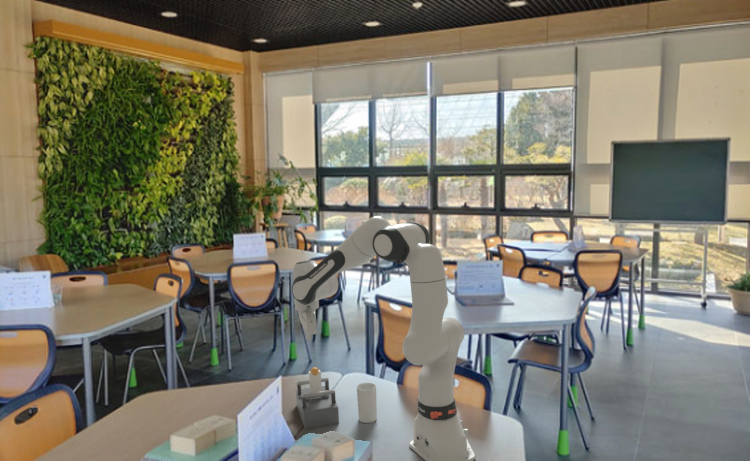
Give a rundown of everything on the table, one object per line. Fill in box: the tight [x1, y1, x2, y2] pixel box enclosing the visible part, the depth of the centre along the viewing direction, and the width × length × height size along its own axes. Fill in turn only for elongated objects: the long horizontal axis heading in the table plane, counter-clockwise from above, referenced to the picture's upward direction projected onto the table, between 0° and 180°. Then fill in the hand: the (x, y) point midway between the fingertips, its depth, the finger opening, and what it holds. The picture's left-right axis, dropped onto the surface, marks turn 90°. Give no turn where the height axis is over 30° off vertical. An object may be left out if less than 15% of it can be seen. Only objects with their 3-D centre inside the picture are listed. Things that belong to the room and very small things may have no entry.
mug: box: [356, 382, 378, 424], centre depth 199 cm, size 10×7×12 cm, turn 169°
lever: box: [308, 366, 322, 398], centre depth 203 cm, size 3×4×11 cm
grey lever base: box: [295, 377, 340, 430], centre depth 203 cm, size 20×12×11 cm, turn 16°
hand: (308, 339), depth 211 cm, fingers closed
